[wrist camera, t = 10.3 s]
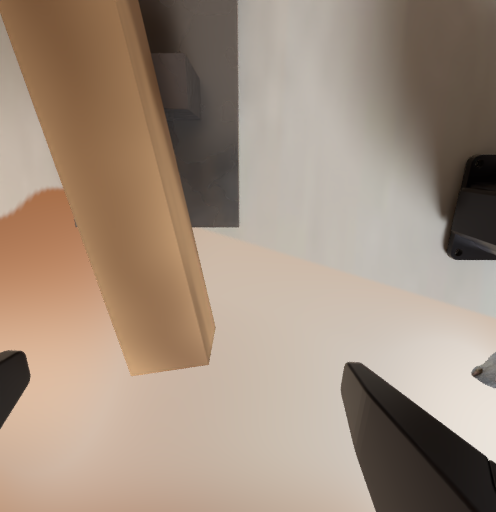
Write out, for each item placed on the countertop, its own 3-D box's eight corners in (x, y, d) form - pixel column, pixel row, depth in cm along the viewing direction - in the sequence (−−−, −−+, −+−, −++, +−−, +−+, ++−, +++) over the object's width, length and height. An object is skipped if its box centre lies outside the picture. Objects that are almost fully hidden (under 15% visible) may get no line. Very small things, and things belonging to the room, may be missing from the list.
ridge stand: (237, -53, 15) (232, -154, 10) (239, 223, 19) (236, 245, 14) (35, -54, 15) (-66, -157, 10) (84, 223, 19) (30, 245, 14)
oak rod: (42, -406, 8) (-65, -702, 5) (215, 327, 16) (208, 364, 13) (-74, -372, 8) (-236, -643, 6) (151, 337, 16) (131, 376, 13)
